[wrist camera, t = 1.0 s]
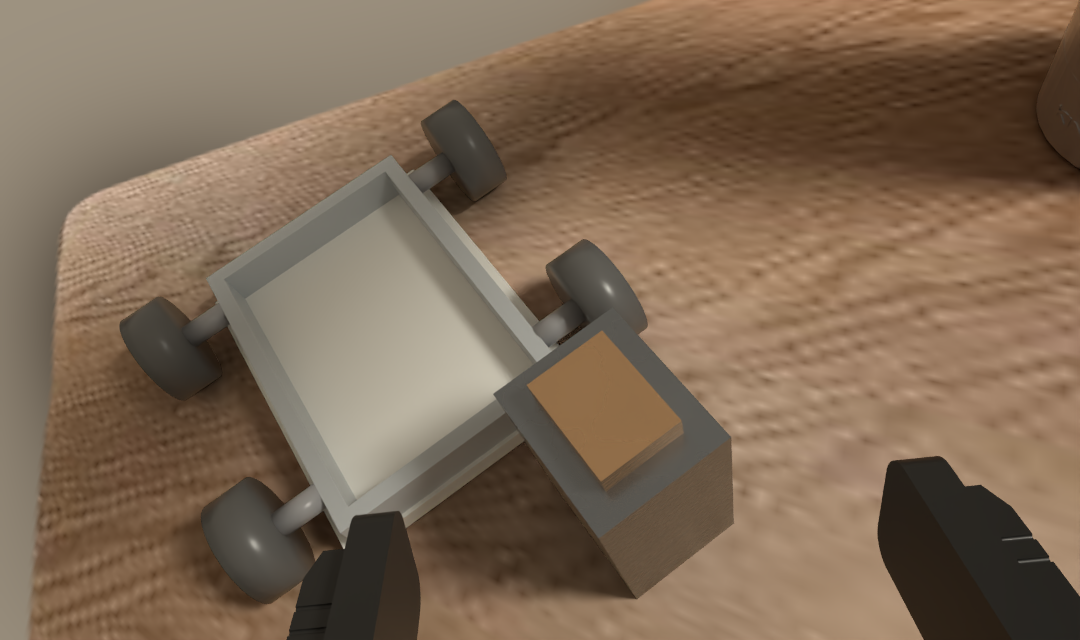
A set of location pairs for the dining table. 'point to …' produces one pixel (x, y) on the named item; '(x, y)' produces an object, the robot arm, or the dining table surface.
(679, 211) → the dining table surface
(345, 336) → the chassis
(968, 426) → the dining table surface
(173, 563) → the dining table surface
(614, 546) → the tall block with cap
